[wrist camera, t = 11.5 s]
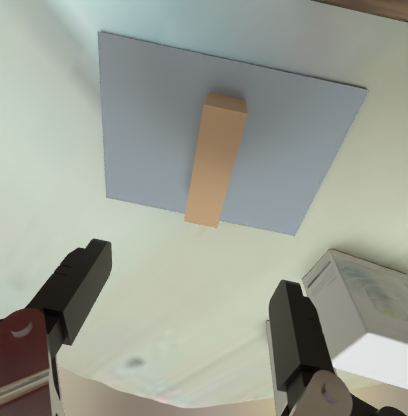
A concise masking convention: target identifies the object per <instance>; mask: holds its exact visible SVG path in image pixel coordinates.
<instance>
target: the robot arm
mask: <svg viewBox="0 0 408 416" xmlns="http://www.w3.org/2000/svg"><path fill="white" fill-rule="evenodd" d="M111 268H112V252H111V242H108V241H103V240H98V239H92V240H91V241H90V243H89V244H88V246H87V247H86V248H85V249H84V248H79V247H78V248H77V249H75V250H74V251H72V252H71V253H69V254H68V255H67V256H66V257H65V259H64V260H63V261H62V262H61V264H60V266H58V267H57V269H56V270H55V271H54V274H52V275H51V276H50V278H49V279H48V280H47V281H46V283H45V284H44V285H43V287H42V288H41V289H40V290H39V292H38V293H37V294H36V295H35V297H34V298H33V299H32V300H31V302H30V303H29V304H28V305H27V306H26V307H25V308H24V309H21V310H18V311H15V312H13V313H12V314H10V315H8V316H7V317H6V318H4V319H0V416H65V413H64V408H63V402H62V395H61V388H60V379H59V371H58V363H57V356H56V354H57V352H58V351H59V349H60V347H61V345H62V344H66V345H70V346H71V345H72V343H73V342H74V340H75V338H76V336H77V334H78V332H79V331H80V329H81V327H82V325H83V323H84V321H85V319H86V318H87V316H88V314H89V312H90V310H91V308H92V307H93V305H94V303H95V301H96V299H97V297H98V296H99V294H100V292H101V290H102V288H103V286H104V285H105V283H106V281H107V279H108V277H109V275H110V272H111ZM269 319H270V329H271V338H272V347H273V357H274V366H275V375H276V385H277V390H278V391H282V392H286V393H287V402H286V404H285V405H284V407H283V409H282V411H281V412H280V414H279V416H406V415H405V414H404V413H403V412H401V411H400V410H398V409H396V408H393V407H389V406H386V407H383V408H381V409H380V410H378V409H376V408H374V407H373V406H371V405H369V404H367V403H366V402H364V401H362V400H360V399H359V398H357V397H355V396H354V395H352V394H351V393H350V392H349V390H348V388H347V386H346V385H345V384H344V382H343V381H342V380H341V379H340V378H339V377H338V376H336V374H335V372H334V369H333V365H332V362H331V358H330V355H329V351H328V348H327V344H326V341H325V337H324V334H323V332H322V327H321V323H320V322H319V321H320V319H319V316H318V312H317V309H316V307H315V306H314V304H313V303H312V301H311V300H310V298H309V297H304V296H303V294H302V289H301V286H300V284H299V283H296V282H291V281H286V280H281V281H280V283H279V285H278V287H277V288H276V290H275V292H274V294H273V296H272V298H271V300H270V303H269Z"/></svg>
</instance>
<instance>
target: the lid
mask: <svg viewBox="0 0 408 416" xmlns="http://www.w3.org/2000/svg"><path fill="white" fill-rule="evenodd" d="M98 46H99V66H100V85H101V104H102V124H103V143H104V162H105V182H106V198H111V199H116V200H120V201H125V202H130V203H135V204H140V205H145V206H150V207H155V208H160V209H165V210H170V211H175V212H180V213H184V214H185V218H184V221H186V222H191V223H196V224H201V225H206V226H210V227H215V228H217V226H218V223H219V221H224V222H229V223H234V224H239V225H244V226H248V227H253V228H258V229H263V230H268V231H273V232H278V233H283V234H288V235H293V236H295V234H296V232H297V230H298V229H299V227H300V225H301V223H302V221H303V219H304V217H305V215H306V213H307V211H308V209H309V207H310V205H311V203H312V201H313V199H314V197H315V195H316V193H317V191H318V189H319V187H320V185H321V183H322V181H323V179H324V177H325V175H326V173H327V171H328V170H329V168H330V166H331V164H332V162H333V160H334V158H335V156H336V154H337V152H338V150H339V148H340V146H341V144H342V142H343V140H344V138H345V136H346V134H347V132H348V130H349V128H350V126H351V124H352V122H353V120H354V118H355V116H356V114H357V113H358V111H359V109H360V107H361V105H362V103H363V101H364V99H365V97H366V95H367V93H368V91H369V90H367V89H364V88H359V87H354V86H350V85H345V84H340V83H336V82H331V81H326V80H322V79H317V78H313V77H308V76H303V75H299V74H294V73H289V72H285V71H280V70H276V69H271V68H266V67H262V66H257V65H252V64H248V63H243V62H239V61H234V60H229V59H225V58H220V57H215V56H211V55H206V54H202V53H197V52H192V51H188V50H183V49H178V48H174V47H169V46H165V45H160V44H155V43H151V42H146V41H141V40H137V39H132V38H127V37H123V36H118V35H114V34H109V33H104V32H98Z"/></svg>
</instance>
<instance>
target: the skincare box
mask: <svg viewBox="0 0 408 416" xmlns="http://www.w3.org/2000/svg"><path fill="white" fill-rule="evenodd" d="M303 284H304V287H305V290H306V294H307V297H309V298H310V300H311V301H312V303H313V304H314V306H315V307H316V309H317V312H318V316H319V319H320V321H319V322H320V323H321V327H322V332H323V334H324V337H325V341H326V344H327V348H328V351H329V355H330V358H331V362H332V365H333V367H334V368H337V369H341V370H344V371H347V372H351V373H354V374H357V375H361V376H364V377H368V378H371V379H374V380H378V381H381V382H385V383H388V384H392V385H395V386H399V387H402V388H405V389H408V276H407V275H406V274H403V273H400V272H397V271H394V270H391V269H388V268H385V267H382V266H379V265H377V264H374V263H371V262H368V261H365V260H362V259H359V258H356V257H353V256H350V255H347V254H344V253H341V252H339V251H336V250H333V249H329V250H328V251H327V252H326V253H325V254H324V255H323V257H322V258H321V259H320V260H319V262H318V263H317V264H316V265H315V266H314V267H313V268H312V270H311V271H310V272H309V273H308V274H307V275H306V276H305V277H304V279H303Z"/></svg>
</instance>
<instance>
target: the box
mask: <svg viewBox="0 0 408 416" xmlns="http://www.w3.org/2000/svg"><path fill="white" fill-rule="evenodd" d="M312 1H316V2H321V3H325V4H329V5H334V6H338V7H342V8H347V9H351V10H355V11H360V12H364V13H369V14H373V15H377V16H382V17H386V18H390V19H395V20H399V21H404V22H408V0H312Z"/></svg>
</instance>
